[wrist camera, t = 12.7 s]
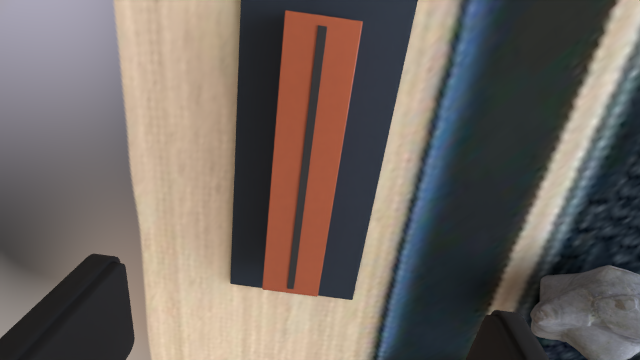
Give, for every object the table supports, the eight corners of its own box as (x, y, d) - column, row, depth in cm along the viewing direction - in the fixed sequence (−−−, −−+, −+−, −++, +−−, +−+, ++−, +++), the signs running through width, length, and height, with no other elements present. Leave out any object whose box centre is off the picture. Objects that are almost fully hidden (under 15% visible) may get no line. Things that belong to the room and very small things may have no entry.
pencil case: (293, 13, 22) (284, 10, 18) (358, 22, 22) (363, 21, 19) (271, 257, 30) (261, 290, 26) (319, 264, 30) (317, 297, 26)
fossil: (489, 319, 32) (534, 405, 25) (510, 236, 29) (570, 307, 21) (613, 323, 32) (696, 411, 25) (649, 239, 28) (760, 312, 21)
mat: (245, -59, 21) (243, -62, 21) (422, -33, 21) (425, -34, 21) (232, 279, 32) (230, 283, 31) (352, 295, 32) (352, 300, 31)
